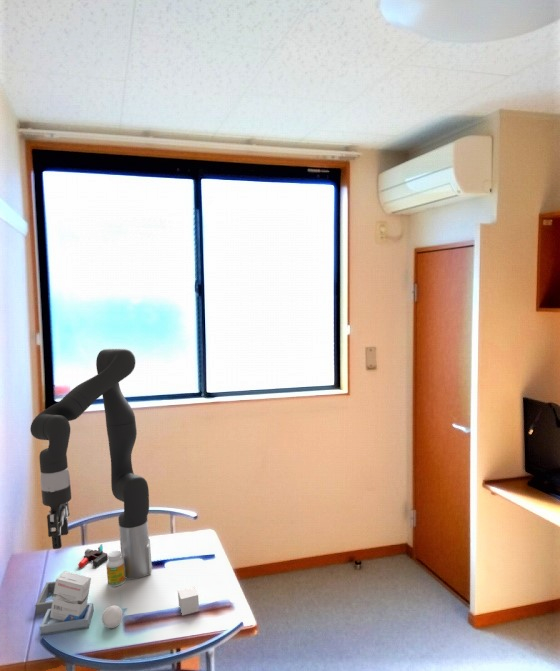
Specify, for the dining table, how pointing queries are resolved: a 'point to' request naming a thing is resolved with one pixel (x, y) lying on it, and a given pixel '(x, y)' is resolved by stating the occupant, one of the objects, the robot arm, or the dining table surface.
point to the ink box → (70, 597)
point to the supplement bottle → (115, 569)
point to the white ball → (112, 616)
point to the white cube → (188, 600)
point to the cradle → (41, 604)
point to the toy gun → (94, 557)
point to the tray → (65, 622)
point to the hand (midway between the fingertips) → (60, 541)
